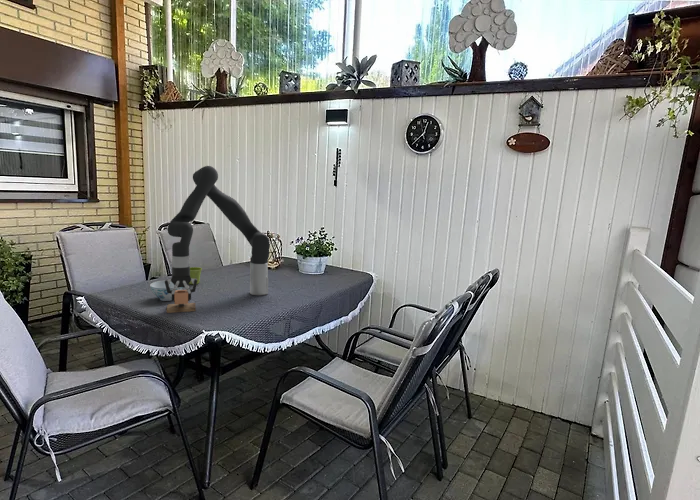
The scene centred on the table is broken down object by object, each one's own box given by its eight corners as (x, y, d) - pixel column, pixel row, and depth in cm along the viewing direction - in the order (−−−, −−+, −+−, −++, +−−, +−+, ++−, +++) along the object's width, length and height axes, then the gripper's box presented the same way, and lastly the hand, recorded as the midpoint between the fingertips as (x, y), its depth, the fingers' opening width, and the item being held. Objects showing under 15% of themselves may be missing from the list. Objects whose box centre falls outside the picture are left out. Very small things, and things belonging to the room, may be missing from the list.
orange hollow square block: (188, 300, 181) (188, 289, 180) (188, 303, 176) (187, 293, 175) (175, 300, 179) (175, 290, 178) (174, 304, 173) (174, 293, 173)
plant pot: (190, 286, 216) (190, 271, 214) (181, 283, 221) (181, 268, 220) (205, 283, 223) (205, 269, 222) (196, 280, 229) (196, 266, 227)
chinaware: (174, 293, 202) (174, 278, 201) (189, 299, 192) (189, 284, 191) (145, 298, 190) (144, 283, 189) (159, 305, 181) (158, 289, 180)
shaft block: (195, 305, 183) (195, 290, 182) (195, 311, 176) (195, 295, 175) (167, 307, 179) (167, 291, 178) (166, 312, 172) (166, 296, 170)
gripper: (197, 263, 180) (198, 298, 183) (164, 264, 175) (164, 299, 178) (198, 266, 173) (198, 302, 176) (162, 267, 168) (163, 304, 171)
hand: (181, 301), depth 177 cm, fingers closed on orange hollow square block, 5 cm apart
